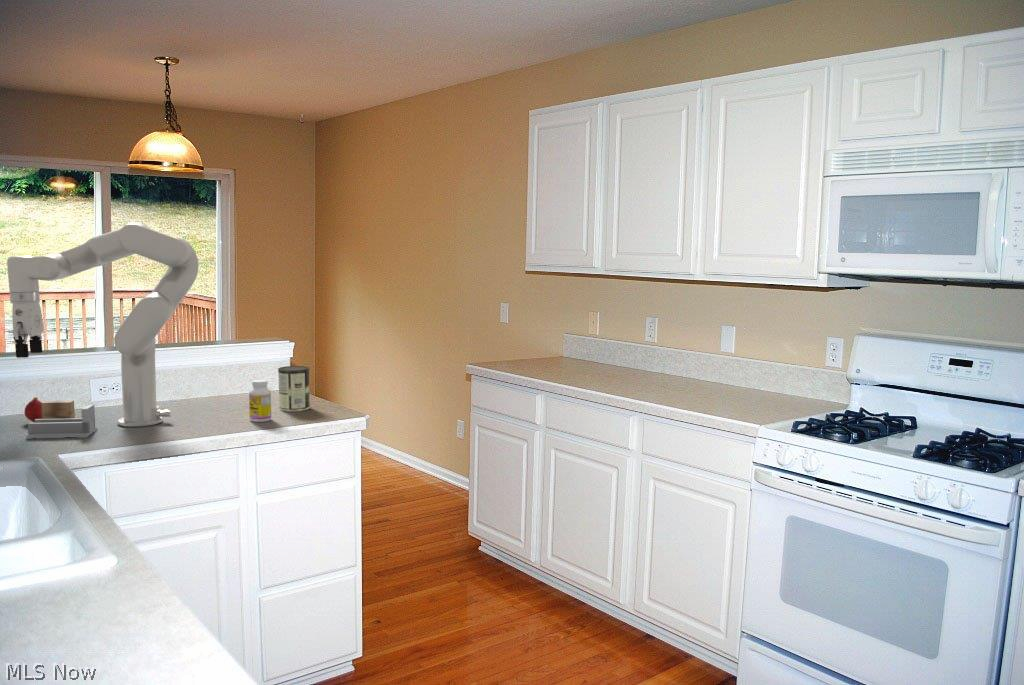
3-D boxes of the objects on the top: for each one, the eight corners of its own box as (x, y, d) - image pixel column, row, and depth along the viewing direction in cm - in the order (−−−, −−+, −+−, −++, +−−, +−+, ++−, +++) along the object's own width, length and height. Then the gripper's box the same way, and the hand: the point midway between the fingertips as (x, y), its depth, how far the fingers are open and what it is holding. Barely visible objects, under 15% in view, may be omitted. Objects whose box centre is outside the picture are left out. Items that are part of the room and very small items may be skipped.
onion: (36, 425, 243) (35, 399, 242) (20, 424, 244) (19, 398, 243) (51, 421, 249) (49, 396, 248) (35, 420, 250) (34, 395, 249)
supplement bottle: (245, 420, 256) (244, 380, 254) (264, 417, 260) (263, 378, 259) (256, 423, 251) (255, 383, 249) (275, 420, 256) (274, 380, 254)
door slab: (75, 426, 244) (74, 400, 243) (71, 428, 241) (70, 402, 240) (46, 426, 242) (45, 400, 241) (42, 429, 239) (41, 402, 238)
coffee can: (295, 404, 281) (294, 364, 279) (316, 408, 275) (315, 367, 274) (272, 409, 272) (271, 368, 270) (293, 413, 267) (292, 371, 265)
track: (97, 429, 239) (95, 403, 238) (86, 437, 230) (85, 410, 229) (38, 431, 236) (37, 404, 235) (26, 438, 227) (24, 411, 226)
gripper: (26, 299, 228) (31, 359, 231) (50, 295, 245) (54, 350, 248) (-3, 300, 227) (2, 359, 229) (23, 295, 244) (28, 351, 246)
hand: (29, 355), depth 239 cm, fingers open, 9 cm apart
